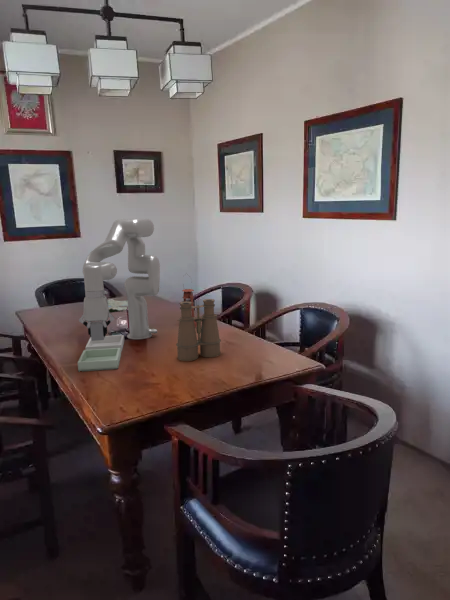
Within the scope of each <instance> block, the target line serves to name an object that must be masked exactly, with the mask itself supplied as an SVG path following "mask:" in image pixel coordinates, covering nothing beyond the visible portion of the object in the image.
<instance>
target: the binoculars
mask: <svg viewBox="0 0 450 600" xmlns="http://www.w3.org/2000/svg"><path fill="white" fill-rule="evenodd" d="M202 302H203V304H201V305H198V304H197V305H195V306H191V304H192V302H191V301H187V300H186V301H185V302H184V301H180V302H179V305H180V307H179V310H180V314H181V315H180V316H181V317H179V318H178V320H177V321H178V334H177V343H176V344H175V345H176V347H177V359H178V360H179V361H183V362H190V361H195V360H197V359H199V355H200V356H202V357H203V358H214V357H218V356H220V355H221V342H222V340H221V339H220V333H219V327H218V322H217V321H218V319H217V317H218V316H219V315H218V314H215V306H216V304H215V299H214V298H206V299H205V298H204V299H202ZM192 308H194V309H196V312H197V313H196V314H197V316H195V317H191V315H192V312H191V309H192ZM200 308H203V314H202V315H201V316H200ZM194 320H195V322H197V327H195V325H194ZM197 337H198V338H197ZM199 349H200V350H199ZM199 351H200V352H199Z"/></svg>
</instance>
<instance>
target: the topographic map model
mask: <svg viewBox="0 0 450 600" xmlns="http://www.w3.org/2000/svg"><path fill="white" fill-rule="evenodd" d="M107 301H108V307H109V312H110V313H111V314H112V313H117V312H118V313H120V312H123V311H127V310H126V309H127V307H128V301H127V300H116V299H113V298H109V299H107ZM120 310H121V311H120Z"/></svg>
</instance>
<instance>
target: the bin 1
mask: <svg viewBox="0 0 450 600" xmlns="http://www.w3.org/2000/svg"><path fill="white" fill-rule="evenodd" d="M124 344H125V335H124V334H119V335H118V334H117V335H115V334H114V335H106V336H105V338H104V340H97V341H91V337H90V336H89V339H88V341H87V343H86V346H85V350H92V349H108V348H121V353H122V352H123V348H124Z"/></svg>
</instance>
